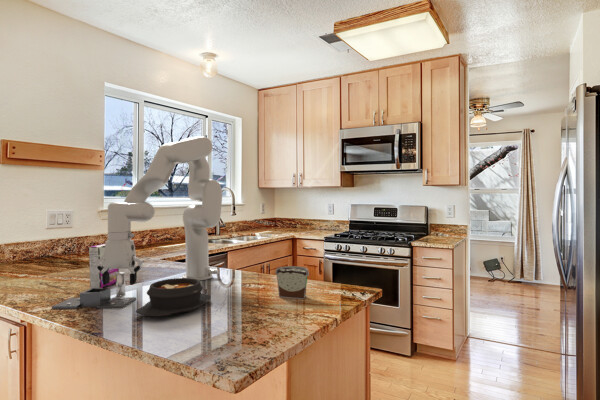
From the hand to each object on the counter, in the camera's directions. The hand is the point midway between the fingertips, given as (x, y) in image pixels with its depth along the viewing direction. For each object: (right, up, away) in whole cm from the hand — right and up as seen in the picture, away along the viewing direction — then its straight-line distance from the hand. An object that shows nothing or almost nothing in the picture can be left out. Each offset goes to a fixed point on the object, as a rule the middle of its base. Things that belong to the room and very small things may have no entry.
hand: (119, 284), depth 137 cm
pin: (0, -4, 0) cm, 4 cm away
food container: (+63, -4, -3) cm, 63 cm away
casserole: (+26, -4, -17) cm, 31 cm away
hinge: (-3, -4, -11) cm, 12 cm away
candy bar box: (-13, -4, +16) cm, 21 cm away
